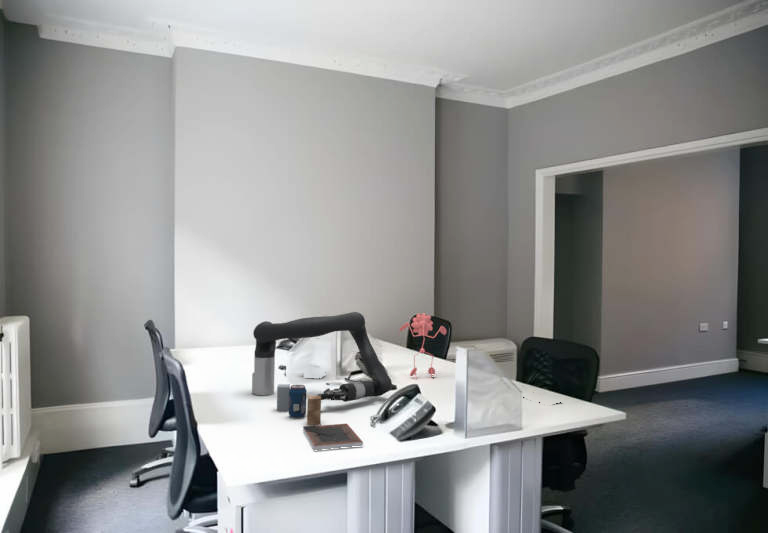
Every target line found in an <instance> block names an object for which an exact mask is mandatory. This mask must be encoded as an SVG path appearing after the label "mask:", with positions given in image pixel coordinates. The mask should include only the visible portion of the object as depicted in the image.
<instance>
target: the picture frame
mask: <svg viewBox="0 0 768 533" xmlns="http://www.w3.org/2000/svg"><path fill="white" fill-rule="evenodd" d="M302 431H304V432H303V433H305V434H304V436H305V437H306V436H307V437H306V439H307V438H308V439H307V441H308V440H309V441H308V442H310V443H311V444H310V443H309V444H310V446H311V445H312V446H311V448H312V447H313V448H312V449H314V450H322V449H331V448H341V447H352V446H362V445H363V446H364V441H363V440H362V439H361V438H360V437H359V436H358V435H357V433H356V432H355V431H354V430H353V429H352V428H351V426H350V425H349V424H348V423H338V424H337V423H336V424H335V423H334V424H324V425H321V424H320V425H305V426H303V428H302ZM314 450H313V451H314Z"/></svg>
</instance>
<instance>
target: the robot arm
mask: <svg viewBox="0 0 768 533" xmlns="http://www.w3.org/2000/svg"><path fill="white" fill-rule="evenodd" d="M366 328H367V327H366V320H365V317H364V315H363V313H360V312H357V311H352V312H347V313H343V314H337V315H324V316H312V317H304V318H297V319H295V320H289V321H287V322H282V323H281V322H278V323H275V322H274V323H272V322H271V321H262V322H260V323H258V324H257V325H256V326H255V327H254V329H253V333H252V334H253V338H254V339H255V340H256V341H255V348H254V359H253V361H254V362H253V364H254V365H253V368H254V370H253V371H254V372H252V373H251V382H252V383H251V394H254V395H255V396H270V394H271V395H274V394H275V370H276V369H275V363H276V362H275V361H276V360H275V358H276V357H275V355H276V347H277V346H276V344H277V341H280V340H284V339H287V340H288V339H306V338H307V339H309V338H316V337H317V338H318V337H321V336H325V335H328V334H330V333H331V334H332V333H335V332H345V331H346V332H347V331H348V332H349V333H350V335H351V337H352V339H353V340H354V343H355V344H356V346H357V349H358V351H359V354H360V357H361V358H360V359H361V360H362V362H363V365H364V368H365V370H366V372H367V374H368V375H369V376H370V377H372V376H373V377H374V378H375V379H376V380H373V381H370V380H364V381H362V380H361V381H354V382H347V383H342V384H341V385H340V386H339V387H338V388H333V389H330V388H326V389H325V390H324V391H323V393H318V394H317V395H321V401H323V400H330V401H342V402H345V403H346V402H352V401H357V400H361V399H363V398H368V397H370V398H371V397H372V398H376V397H380V396H382V395H385V394H386V393H388V392H390V391H391V389H392V388H393V384H392V383H393V382H392V380H391V378H390V375H389V374H388V373H387V372H386V371H385V369H384V368H383V367H382V365H381V361H380V360H379V358H378V355H377V353H376V350H375V349H374V347H373V345H372V344H371V341H370V339H369V337H368V332H367V329H366Z"/></svg>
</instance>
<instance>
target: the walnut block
mask: <svg viewBox="0 0 768 533" xmlns="http://www.w3.org/2000/svg"><path fill="white" fill-rule="evenodd" d="M321 410H322V400H321V395H318V394H317V395H315V394H314V395H307V402H306V426H320V425H321V420H322V414H321V413H322V412H321ZM319 424H320V425H319Z"/></svg>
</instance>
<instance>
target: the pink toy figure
mask: <svg viewBox="0 0 768 533" xmlns="http://www.w3.org/2000/svg"><path fill="white" fill-rule="evenodd" d="M431 319H432V316H431V315H429V314H427V315H426V313H425V312H423V313H420V312H418V313H417V314H416V316H415V317H413V318H412V323H411V324H410V322H406V323H403V325H402V326H401V327H400V328H399V330H398V331H399V333H401V332H403V331H404V330H406V328H407V327H409V330H410V331H411V334H412V337H414V338H415V337H423V341H422V345H421V348H419V349H420V350H419V352H417V353H416V354H415V355H414V356H413V362H414V363H413V367H414V368H413V369H412V370H411V371H410V373H409V374H410V375H409V376H412V377H413V376H415V377H416V378H417V371H418V368H417V367H416V365H415V364H416V363H415V362H416V360H415V357H416V356H417V355H418V354H419V353H421V354H425V353H426V354H428V355H429V356H431V361H433V358H434V356H433V354H431V353H429V352H426V350H425V348H424V344H425V337H428V338H431V339H434V338H436V336H437V335H438V334H439V332H440V333H441V334H442V335H443V336H445V335H446V334H447V328H445V326H443V325H441V326H440V327H439V329H438V331H437V332H436V333H435V334H434V336H431V335H428V334H429V331H430V332H431V331H433V326H432V325H433V324H434V322H433V321H432V320H431ZM411 327H412V328H413V329H412V328H411ZM414 333H415V334H416V333H417V334H416V335H414ZM430 365H431V366H430V367H428V370H427V372H428V375H429V374H431V375H432V374H434V375H435V374H436V369H435V368H434V367H433V362H431V364H430ZM431 375H430V376H431ZM434 375H432V376H433V377H434ZM432 376H431V377H432Z"/></svg>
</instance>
